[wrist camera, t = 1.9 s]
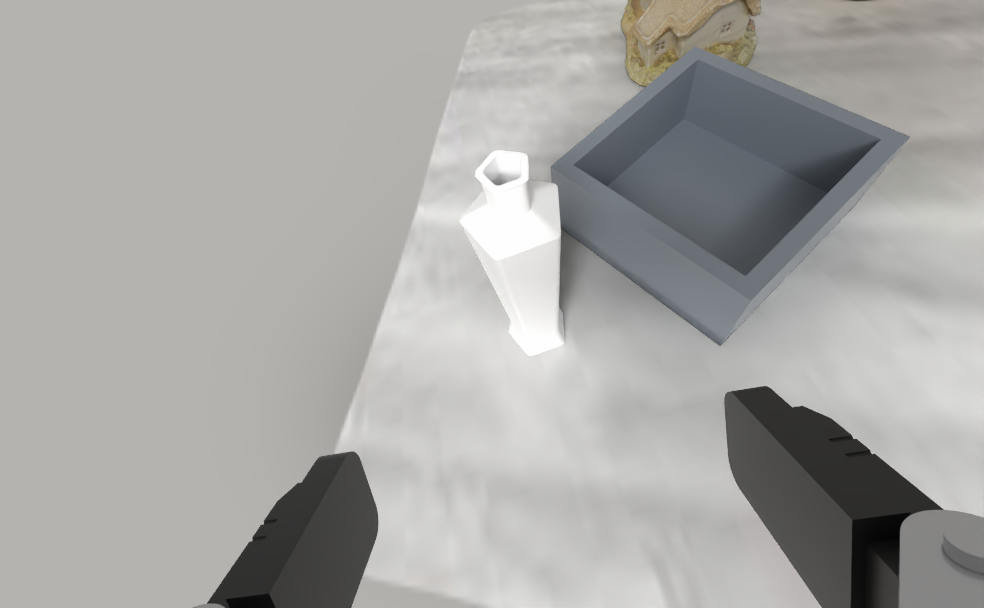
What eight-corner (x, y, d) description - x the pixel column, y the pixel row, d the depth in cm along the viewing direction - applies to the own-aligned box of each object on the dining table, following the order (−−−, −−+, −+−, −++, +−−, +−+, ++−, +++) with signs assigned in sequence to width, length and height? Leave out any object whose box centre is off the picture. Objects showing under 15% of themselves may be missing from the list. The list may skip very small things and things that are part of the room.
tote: (679, 116, 37) (694, 46, 32) (854, 205, 31) (910, 136, 26) (555, 224, 34) (550, 166, 29) (720, 346, 28) (751, 300, 23)
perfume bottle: (502, 300, 32) (446, 134, 19) (566, 295, 32) (552, 120, 18) (502, 362, 30) (439, 223, 17) (570, 359, 29) (559, 211, 16)
